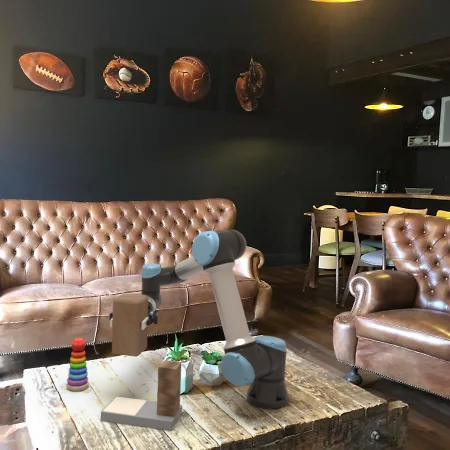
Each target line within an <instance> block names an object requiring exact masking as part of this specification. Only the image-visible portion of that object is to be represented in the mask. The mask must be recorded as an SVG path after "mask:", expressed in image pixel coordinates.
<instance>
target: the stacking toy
mask: <svg viewBox="0 0 450 450" xmlns="http://www.w3.org/2000/svg"><path fill="white" fill-rule="evenodd" d="M86 345H87V343H86V341H85V339H84V338H82V337H75V338H74V339H73V340H72V342H71V345H70V346H71V349H72V351H71V353H70V354H71V356H70V359H69V361H70V363H69V368H68V374H67V379H66V382H67V383H66V389H67V390H68V391H72V392H79V391H80V392H81V391H84V390H86V389H88V387H89V384H90V383H89V381H88V380H89V378H88V374H89V373H88V366H87V361H86V359H87V358H86V351H85V348H86Z"/></svg>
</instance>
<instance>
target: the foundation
mask: <svg viewBox="0 0 450 450" xmlns="http://www.w3.org/2000/svg"><path fill="white" fill-rule="evenodd" d="M182 414H183V405H182V404H180V409H179V411H178V413H177V414H176V416H175V417H169V416H161V415H157V400H156V401H154V400H149V399H147V400H146V399H141V398H140V399H139V398H131V397H126V396H123V397H122V396H117V395H115V397H113V398H112V400H110V401H109V403H108V404H107V405H106V406H105V407H103V409H102V410H100V422H101V421H102V422H108V423H115V424H121V425H122V424H123V425H130V426H136V427H143V428H151V429H155V430H163V431H170V432H172V430H173V429H174V427H175V426H176V424H177V422H178V421H179V419H180V417H181V415H182Z"/></svg>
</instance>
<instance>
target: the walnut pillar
mask: <svg viewBox="0 0 450 450" xmlns="http://www.w3.org/2000/svg"><path fill="white" fill-rule="evenodd" d="M181 383H182V362H180V361H172V360H163V361H162V362H161V363H160V364H159V365H158V366H157V388H156V389H157V391H156V392H157V393H156V394H157V395H156V397H157V398H156V402H157V415H161V416H169V417H175V416H176V414H177V413H178V411H179V409H180V405H181V387H182V386H181V385H182V384H181Z"/></svg>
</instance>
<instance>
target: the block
mask: <svg viewBox="0 0 450 450" xmlns="http://www.w3.org/2000/svg"><path fill="white" fill-rule="evenodd" d="M112 312H113V327H111V328H112V331H111V332H112V336H111V337H112V338H111V354H113V355H118V356H119V355H120V356H127V357H138V356H140V355H141V354H142V353H143V352H145V350H146V349H147V347H148V327H149V325H148V326H147V327H146V328H145V329H144V330H142V321H143V320H144V319H145V318H146V317H148V296H146V295H141V294H134V293H126V292H125V293H122V294H120V295H119V296H117V297H115V298H113V300H112Z"/></svg>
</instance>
